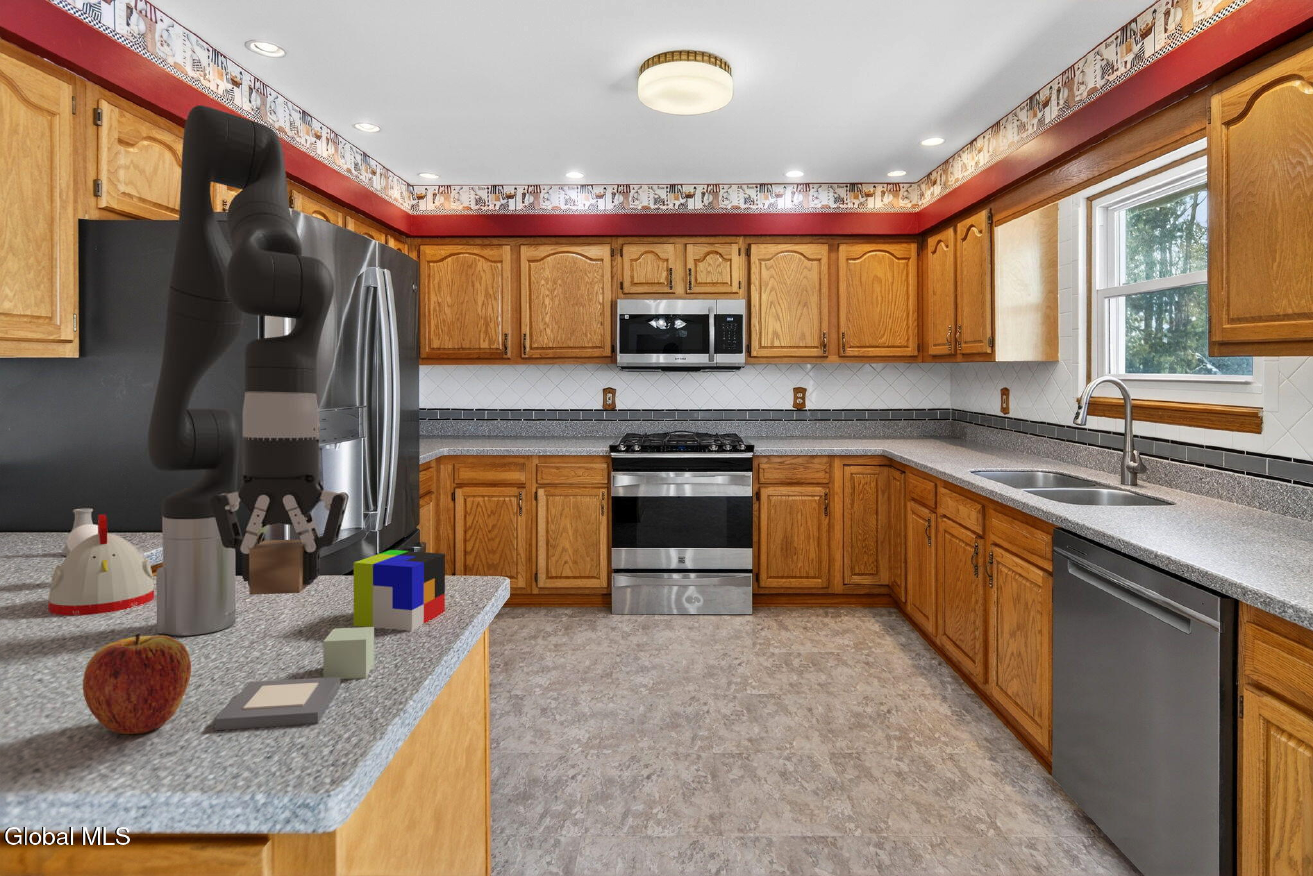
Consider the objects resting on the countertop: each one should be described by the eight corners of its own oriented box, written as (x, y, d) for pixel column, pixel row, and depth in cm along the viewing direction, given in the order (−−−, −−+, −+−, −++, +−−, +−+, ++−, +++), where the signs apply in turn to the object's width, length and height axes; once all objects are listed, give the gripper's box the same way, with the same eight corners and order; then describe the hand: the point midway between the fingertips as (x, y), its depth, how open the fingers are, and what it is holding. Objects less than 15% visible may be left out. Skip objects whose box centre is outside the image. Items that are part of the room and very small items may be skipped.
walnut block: (249, 594, 75) (249, 549, 75) (265, 583, 80) (265, 540, 80) (299, 593, 76) (299, 548, 76) (312, 581, 81) (312, 539, 81)
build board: (215, 730, 73) (215, 717, 73) (250, 691, 82) (250, 680, 82) (317, 723, 75) (317, 710, 75) (340, 686, 85) (340, 675, 84)
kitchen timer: (48, 621, 107) (46, 525, 106) (48, 601, 117) (47, 513, 117) (158, 605, 116) (157, 517, 116) (149, 588, 127) (148, 507, 126)
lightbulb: (103, 577, 134) (102, 520, 133) (114, 582, 130) (113, 524, 130) (63, 583, 129) (62, 524, 128) (73, 588, 125) (72, 528, 125)
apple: (68, 755, 67) (67, 653, 67) (100, 716, 75) (98, 626, 75) (180, 739, 71) (179, 642, 70) (198, 704, 79) (197, 617, 79)
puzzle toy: (411, 631, 106) (412, 566, 105) (353, 626, 108) (353, 562, 107) (444, 613, 115) (445, 553, 115) (390, 608, 117) (390, 549, 117)
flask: (53, 556, 150) (52, 511, 149) (85, 550, 157) (85, 506, 157) (81, 558, 149) (80, 512, 148) (113, 551, 156) (112, 507, 155)
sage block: (323, 680, 86) (323, 641, 86) (333, 666, 91) (333, 628, 91) (366, 678, 87) (366, 639, 87) (374, 663, 92) (374, 626, 92)
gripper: (195, 434, 72) (196, 595, 73) (342, 435, 75) (342, 590, 76) (224, 431, 80) (225, 578, 80) (357, 433, 82) (357, 574, 83)
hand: (282, 583), depth 78 cm, fingers closed on walnut block, 5 cm apart
